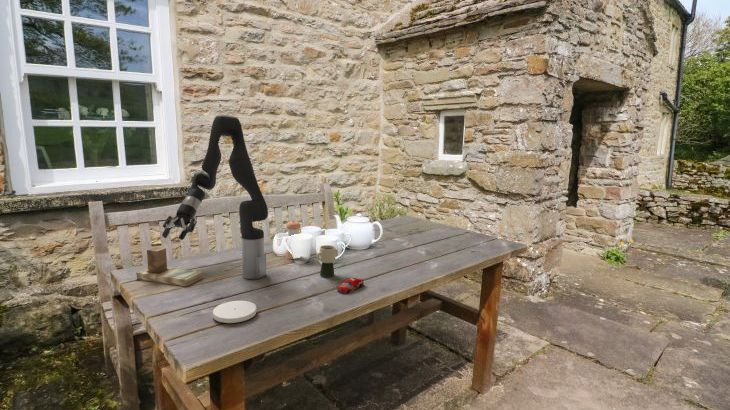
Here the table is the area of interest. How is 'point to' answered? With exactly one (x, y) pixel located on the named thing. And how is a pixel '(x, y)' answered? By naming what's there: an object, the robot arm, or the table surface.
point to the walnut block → (157, 260)
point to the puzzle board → (172, 276)
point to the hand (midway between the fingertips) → (172, 238)
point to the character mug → (327, 259)
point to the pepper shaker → (292, 233)
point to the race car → (350, 285)
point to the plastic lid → (234, 311)
